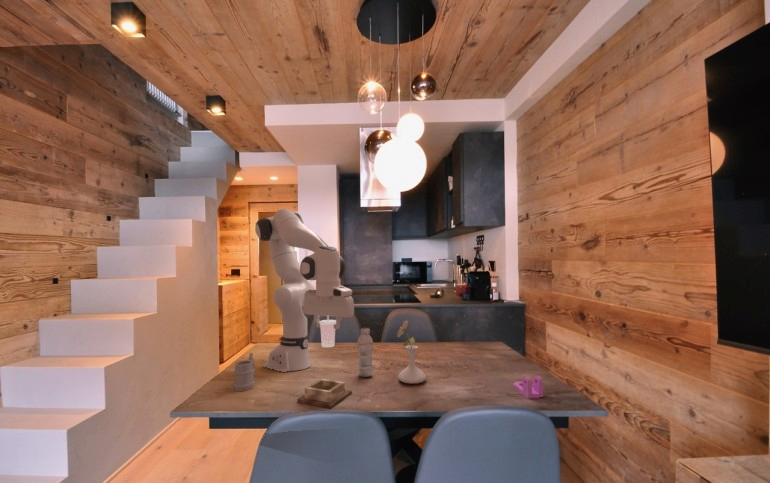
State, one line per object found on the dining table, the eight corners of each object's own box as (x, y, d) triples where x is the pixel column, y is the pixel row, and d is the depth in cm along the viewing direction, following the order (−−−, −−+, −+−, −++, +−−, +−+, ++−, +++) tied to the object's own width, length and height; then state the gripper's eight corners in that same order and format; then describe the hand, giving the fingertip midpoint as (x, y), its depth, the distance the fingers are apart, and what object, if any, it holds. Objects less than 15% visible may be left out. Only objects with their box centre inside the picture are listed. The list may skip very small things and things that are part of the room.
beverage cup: (336, 347, 126) (336, 308, 126) (319, 348, 125) (319, 308, 126) (336, 343, 132) (336, 305, 133) (319, 344, 131) (319, 306, 132)
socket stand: (297, 402, 124) (297, 389, 124) (320, 388, 136) (320, 376, 137) (331, 408, 118) (331, 394, 118) (351, 393, 131) (351, 381, 131)
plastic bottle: (371, 379, 146) (371, 330, 147) (356, 378, 147) (355, 330, 148) (375, 374, 152) (374, 327, 153) (360, 373, 154) (359, 327, 154)
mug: (229, 391, 135) (229, 359, 135) (244, 380, 146) (244, 351, 147) (248, 392, 134) (248, 360, 134) (262, 381, 146) (262, 351, 146)
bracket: (543, 397, 125) (542, 378, 125) (528, 398, 124) (527, 378, 125) (524, 384, 138) (523, 366, 138) (510, 385, 137) (510, 367, 137)
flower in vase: (410, 374, 151) (409, 316, 152) (432, 381, 143) (430, 319, 144) (389, 382, 142) (388, 320, 143) (410, 389, 134) (409, 323, 135)
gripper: (299, 290, 131) (299, 327, 130) (347, 292, 122) (347, 332, 122) (309, 288, 136) (309, 324, 136) (356, 290, 128) (356, 328, 128)
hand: (327, 328), depth 129 cm, fingers closed on beverage cup, 6 cm apart
